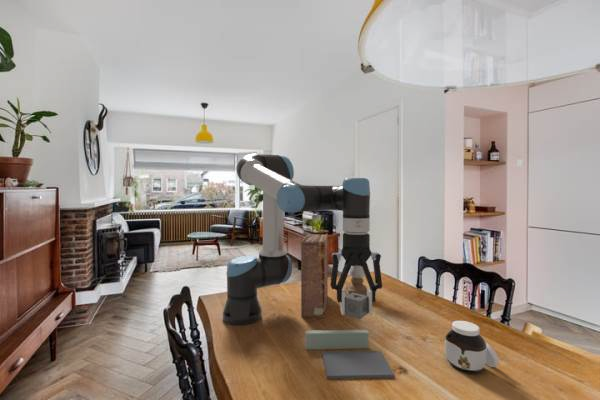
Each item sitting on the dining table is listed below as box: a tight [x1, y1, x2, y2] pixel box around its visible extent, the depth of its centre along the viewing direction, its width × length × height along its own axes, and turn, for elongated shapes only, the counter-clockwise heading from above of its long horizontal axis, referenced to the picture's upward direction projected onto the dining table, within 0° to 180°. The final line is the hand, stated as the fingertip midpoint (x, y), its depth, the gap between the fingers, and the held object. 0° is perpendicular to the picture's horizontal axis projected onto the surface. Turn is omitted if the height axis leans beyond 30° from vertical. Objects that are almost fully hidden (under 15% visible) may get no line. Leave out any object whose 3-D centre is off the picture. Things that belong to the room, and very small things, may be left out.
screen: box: [304, 329, 370, 350], centre depth 95 cm, size 20×2×5 cm, turn 91°
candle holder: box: [343, 265, 368, 296], centre depth 143 cm, size 11×11×24 cm
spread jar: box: [444, 320, 500, 374], centre depth 85 cm, size 12×11×12 cm
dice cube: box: [344, 292, 369, 320], centre depth 85 cm, size 5×5×5 cm
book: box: [300, 232, 329, 319], centre depth 130 cm, size 25×9×30 cm, turn 172°
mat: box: [322, 350, 395, 380], centre depth 85 cm, size 18×12×1 cm, turn 91°
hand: (355, 312), depth 85 cm, fingers closed on dice cube, 7 cm apart
